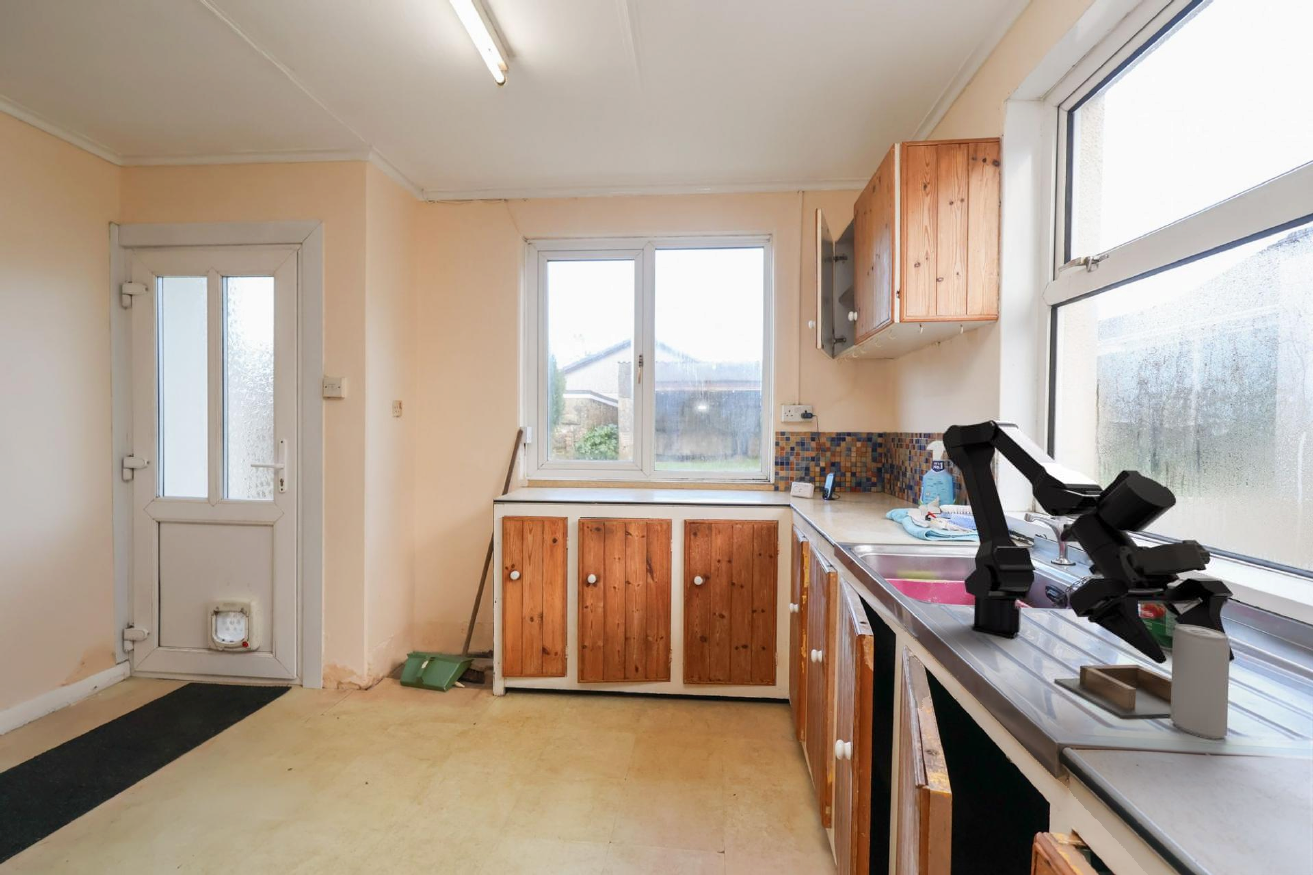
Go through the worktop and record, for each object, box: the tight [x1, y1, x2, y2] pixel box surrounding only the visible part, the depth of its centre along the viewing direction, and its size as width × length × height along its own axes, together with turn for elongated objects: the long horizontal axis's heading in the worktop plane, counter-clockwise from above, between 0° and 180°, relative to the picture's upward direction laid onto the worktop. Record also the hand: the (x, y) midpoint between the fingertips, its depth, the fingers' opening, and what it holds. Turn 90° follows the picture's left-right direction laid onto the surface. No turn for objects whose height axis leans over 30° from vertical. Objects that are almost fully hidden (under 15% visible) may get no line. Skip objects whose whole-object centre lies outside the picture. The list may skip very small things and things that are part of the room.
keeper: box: [1053, 664, 1172, 719], centre depth 73 cm, size 10×14×3 cm
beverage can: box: [1169, 624, 1231, 740], centre depth 65 cm, size 5×5×12 cm
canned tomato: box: [1139, 578, 1186, 652], centre depth 93 cm, size 8×8×11 cm
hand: (1196, 661), depth 65 cm, fingers open, 9 cm apart
